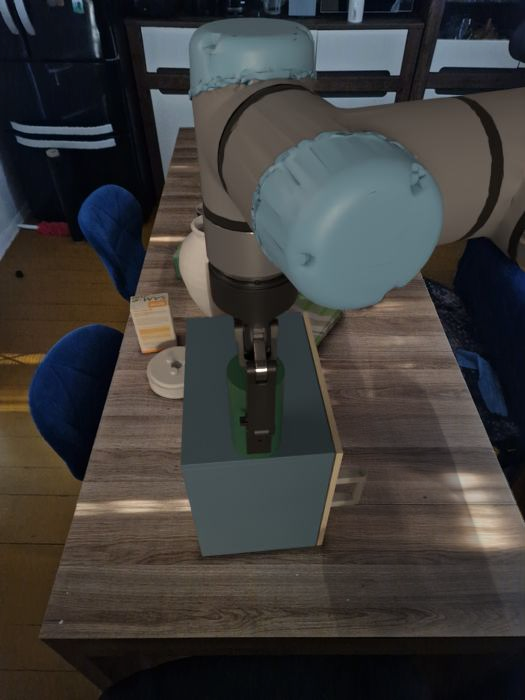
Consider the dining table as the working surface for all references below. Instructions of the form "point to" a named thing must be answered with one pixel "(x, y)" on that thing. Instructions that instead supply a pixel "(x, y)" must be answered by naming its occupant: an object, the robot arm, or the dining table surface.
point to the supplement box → (153, 322)
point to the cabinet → (244, 473)
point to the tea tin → (239, 407)
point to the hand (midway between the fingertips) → (256, 425)
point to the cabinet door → (336, 476)
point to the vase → (197, 269)
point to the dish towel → (316, 316)
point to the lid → (167, 372)
